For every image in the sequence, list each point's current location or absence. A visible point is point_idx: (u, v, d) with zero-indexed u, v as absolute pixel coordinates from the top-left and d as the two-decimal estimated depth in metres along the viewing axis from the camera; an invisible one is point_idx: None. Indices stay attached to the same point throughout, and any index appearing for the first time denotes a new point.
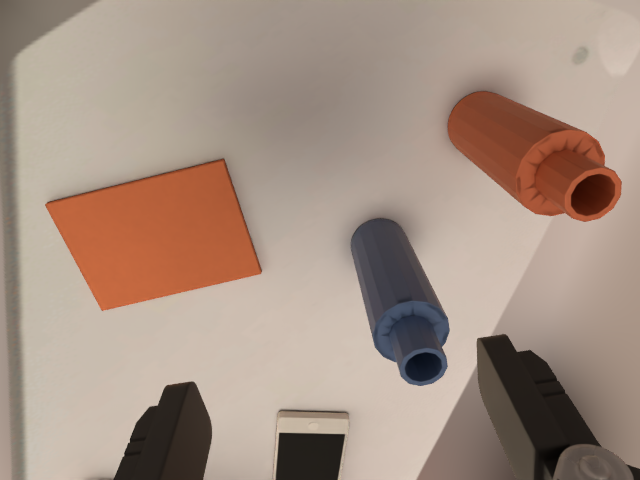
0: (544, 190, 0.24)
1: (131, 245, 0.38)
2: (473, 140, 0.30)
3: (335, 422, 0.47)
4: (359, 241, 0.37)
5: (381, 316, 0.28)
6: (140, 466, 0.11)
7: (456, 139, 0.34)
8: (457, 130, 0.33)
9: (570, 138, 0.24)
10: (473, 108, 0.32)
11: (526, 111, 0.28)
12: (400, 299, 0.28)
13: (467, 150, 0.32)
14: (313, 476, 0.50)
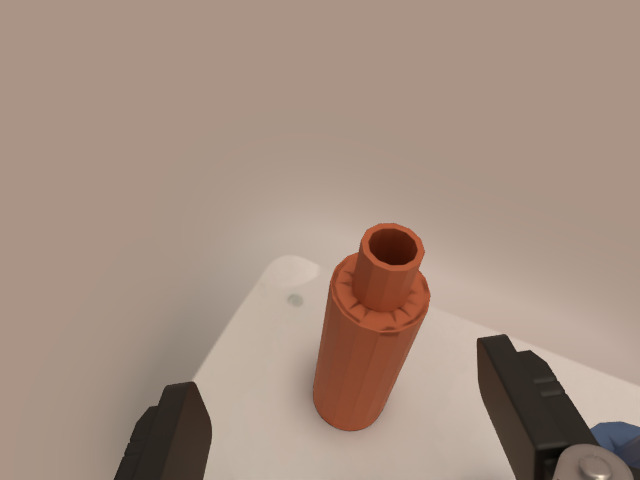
0: (393, 298, 0.20)
1: None
2: (354, 393, 0.25)
3: None
4: None
5: None
6: (140, 466, 0.11)
7: (360, 418, 0.28)
8: (349, 416, 0.28)
9: (340, 279, 0.22)
10: (323, 396, 0.28)
11: (322, 333, 0.25)
12: None
13: (369, 402, 0.26)
14: None
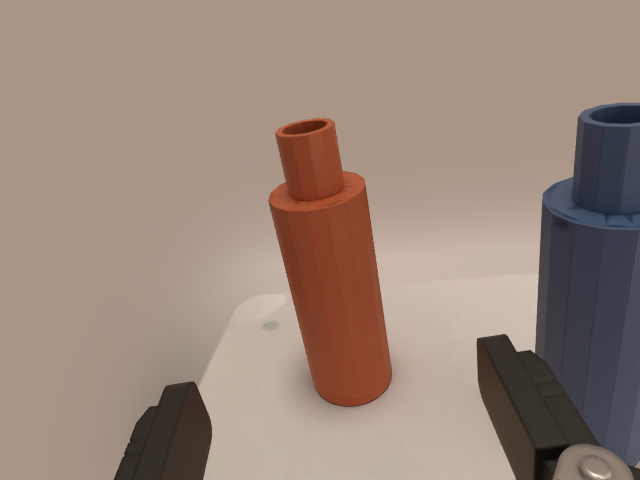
0: (326, 175, 0.21)
1: None
2: (343, 326, 0.23)
3: None
4: None
5: (616, 229, 0.15)
6: (140, 466, 0.11)
7: (367, 373, 0.25)
8: (354, 374, 0.25)
9: (277, 196, 0.22)
10: (320, 363, 0.25)
11: (288, 281, 0.24)
12: (566, 229, 0.16)
13: (364, 338, 0.24)
14: None
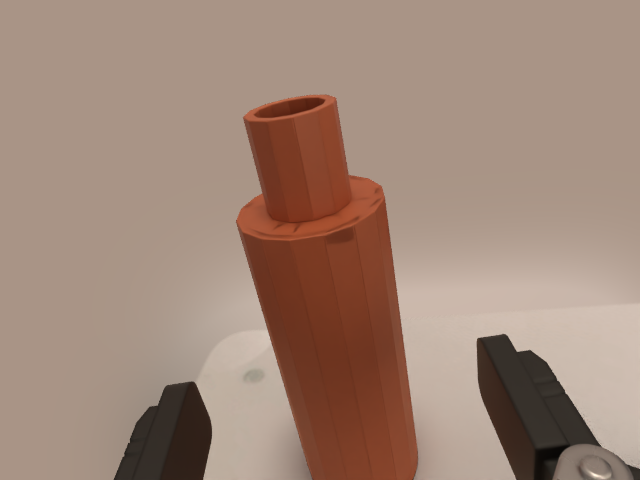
0: (324, 182, 0.13)
1: None
2: (351, 407, 0.16)
3: None
4: None
5: None
6: (140, 466, 0.11)
7: (386, 467, 0.17)
8: (367, 470, 0.17)
9: (250, 215, 0.15)
10: (318, 453, 0.17)
11: (270, 337, 0.17)
12: None
13: (382, 421, 0.16)
14: None
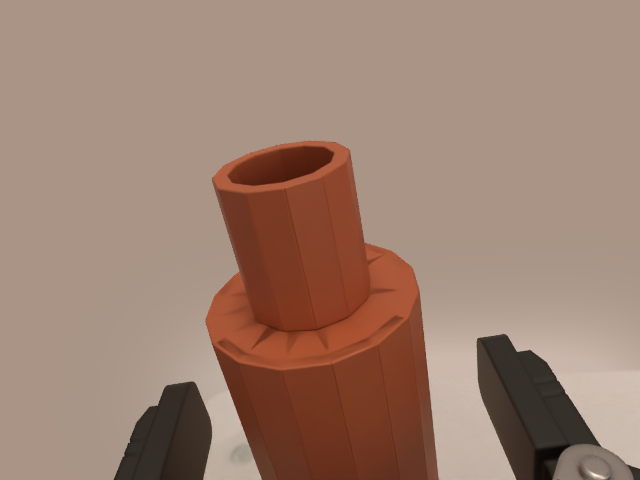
0: (332, 277, 0.09)
1: None
2: None
3: None
4: None
5: None
6: (140, 466, 0.11)
7: None
8: None
9: (226, 309, 0.10)
10: None
11: None
12: None
13: None
14: None
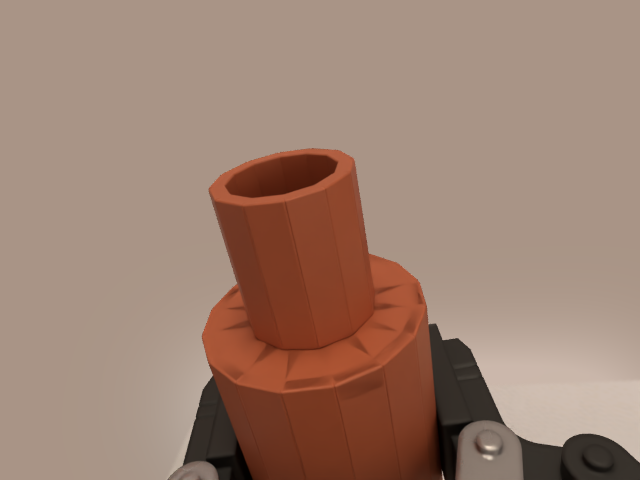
0: (335, 293, 0.08)
1: None
2: None
3: None
4: None
5: None
6: (217, 425, 0.11)
7: None
8: None
9: (223, 325, 0.10)
10: None
11: None
12: None
13: None
14: None
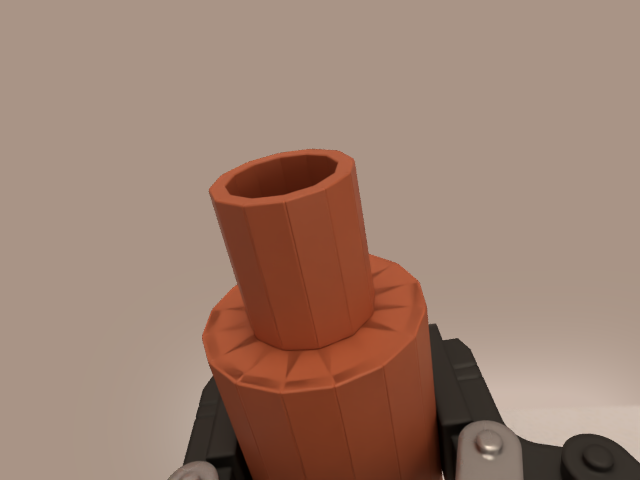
0: (335, 294, 0.08)
1: None
2: None
3: None
4: None
5: None
6: (217, 425, 0.11)
7: None
8: None
9: (223, 325, 0.10)
10: None
11: None
12: None
13: None
14: None
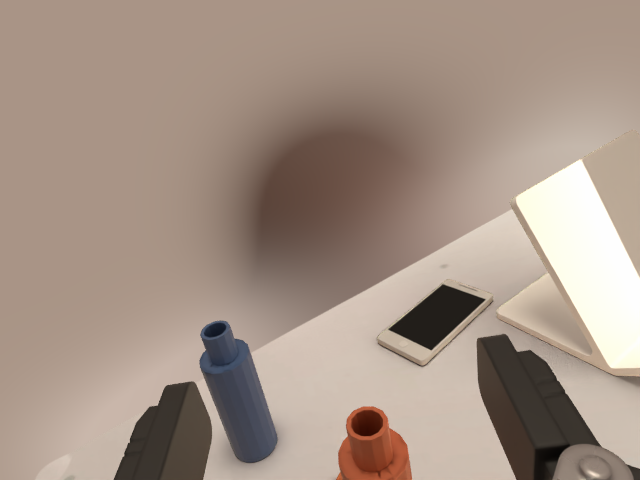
0: (382, 458, 0.30)
1: None
2: None
3: (387, 339, 0.58)
4: (253, 447, 0.46)
5: (225, 371, 0.42)
6: (140, 466, 0.11)
7: None
8: None
9: (344, 459, 0.31)
10: None
11: None
12: (210, 376, 0.42)
13: None
14: (435, 310, 0.61)
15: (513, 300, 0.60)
